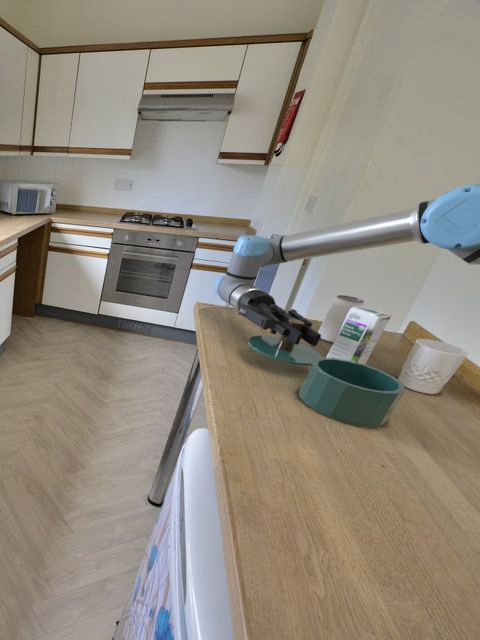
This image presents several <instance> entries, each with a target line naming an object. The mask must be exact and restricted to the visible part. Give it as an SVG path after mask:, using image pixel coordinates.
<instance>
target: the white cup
mask: <svg viewBox="0 0 480 640" xmlns="http://www.w3.org/2000/svg"><path fill="white" fill-rule="evenodd" d="M414 341H415V342H414V343H413V345H412V347H411V348H410V351H409V353H408V355H407V357H406V359H405V361H404V363H403V365H402V367H401V370H400V372H399V375H398V377H397V378H396V379H397V380H399V381H400V382H401V383H402V384H403V385H404V388H406V389H409V390H412V391H415V392H418V393H422V394H427V395H436V394H439V393H440V392H441V391H442V389H443V388H444V386H445V384H447V383H448V382H449V381H450V380H451V378H452V376H454V375H455V373H456V372H457V370H458V369H459V367H460V366H461V365H462V364H463V362H464V361H465V359H466V358H467V357H468V356H469V352H468V351H467V350H465V349H463V348H461V347H459V346H456V345H454V344H451V343H447V342H444V341H439V340H436V339H435V340H434V339H428V338H417V339H415V340H414Z"/></svg>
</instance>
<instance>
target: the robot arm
mask: <svg viewBox="0 0 480 640" xmlns="http://www.w3.org/2000/svg"><path fill="white" fill-rule="evenodd" d="M411 242H417V243H420V244H421V245H425V244H432V245H434V246H436V247H438V248H440V249H444V250H447V251H449V252H450V253H452V254H453V255H455V256H456V257H458V258H460V259H461V260H462V261H463V262H466V263H467V264H468V265H470V266H475V265H476V266H477V265H480V184H470V185H469V184H468V185H463V186H460V187H456V188H453V189H452V190H449V191H447V192H444V193H443V194H442V195H440V196H438V197H437V198H434V199H431V200H427V201H426V200H425V201H421V202H418V203H417V204H416V205H415V206H414V207H413V208H410V209H405V210H400V211H395V212H391V213H386V214H381V215H375V216H373V217H372V216H371V217H367V218H363V219H358V220H353V221H349V222H344V223H339V224H334V225H329V226H324V227H320V228H316V229H310V230H306V231H301V232H296V233H291V234H287V235H284V236H278V237H277V236H276V237H273V238H272V237H271V238H267V237H264V236H260V235H252V234H243V235H240V236H239V237H238V238H237V241H236V243H235V245H234V246H233V251H232V254H231V256H230V257H231V258H230V261H229V264H228V267H227V270H226V272H225V274H224V275H222V276H220V277H219V279H218V280H217V281H216V282H215V284H214V291H215V293H216V295H217V296H218V297H219V298H220V299H221V300H222V301H223V302H225V303H227V304H228V305H230V306H231V307H233V308H234V309H235V310H236V311H237V312H238V316H241V317H243V318H245V319H247V320H248V321H250V322H252V323H253V324H255V325H256V326H257V327H260V328H261V329H263V330H269V329H270V332H269V333H270V334H272V335H277V333H278V334H280V335H281V336H284V337H285V338H286V339H288V340H289V341H291V342H292V343H293V344H296V345H298V344H299V343H301V340H303V341H304V342H306V343H307V344H309V345H310V346H311V347H317V346H318V343H319V342H320V340H321V338H320V337H321V335H320V334H319V333H318V332H317V331H316V330H314V329H312V326H313V323H312V322H311V321H310V320H309V319H307V318H306V317H305V316H303V315H301V314H300V313H299V312H298V311H297V310H296V309H294V308H291V309H289V310H288V311H287V310H285V309H283V308H282V307H280V306H279V305H277V304H276V300H275V298H274V297H273V296H272V295H270V294H269V293H267V292H265V291H264V290H262V289H261V288H260V287H257V286H255V283H256V280H257V278H258V275H259V272H260V270H261V268H264V267H268V266H273V265H278V264H284V263H288V262H289V263H290V262H295V261H301V260H308V259H313V258H319V257H327V256H332V255H339V254H344V253H350V252H356V251H362V250H368V249H374V248H380V247H385V246H392V245H393V246H394V245H399V244H405V243H411ZM288 319H297V320H300V321H302V322H304V325H303V328H302V330H301V332H300V331H299V330H297V329H296V328H294V327H293V326H291V325H290V324H288V323H287V322H288Z"/></svg>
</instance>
